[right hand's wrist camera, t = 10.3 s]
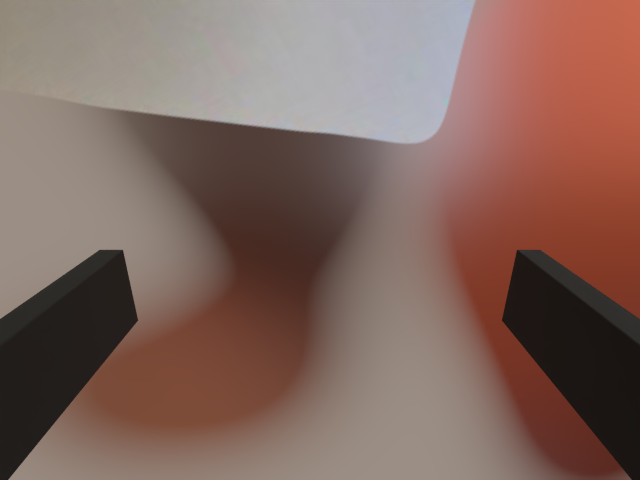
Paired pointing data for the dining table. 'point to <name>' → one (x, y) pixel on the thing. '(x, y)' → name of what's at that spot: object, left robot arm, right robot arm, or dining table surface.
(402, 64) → the dining table surface
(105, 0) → the dining table surface
